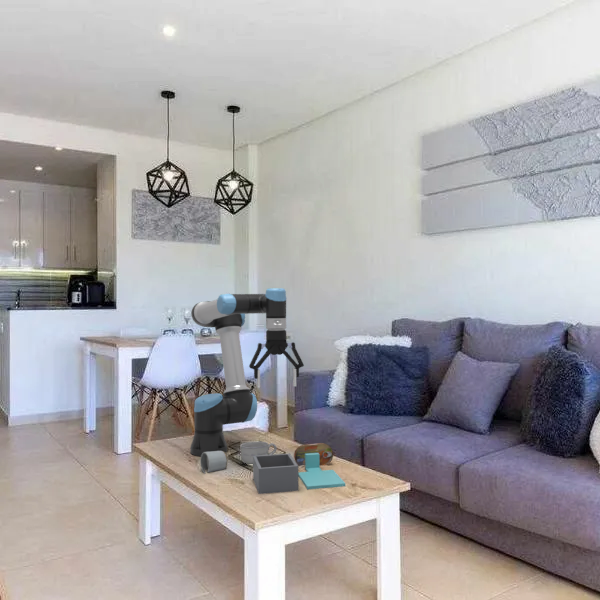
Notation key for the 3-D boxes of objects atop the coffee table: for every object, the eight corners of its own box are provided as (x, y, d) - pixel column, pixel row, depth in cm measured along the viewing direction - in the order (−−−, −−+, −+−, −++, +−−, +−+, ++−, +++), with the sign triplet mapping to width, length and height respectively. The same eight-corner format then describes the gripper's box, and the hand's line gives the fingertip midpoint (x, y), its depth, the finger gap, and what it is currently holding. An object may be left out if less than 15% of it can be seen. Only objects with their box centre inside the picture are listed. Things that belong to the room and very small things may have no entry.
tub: (253, 481, 190) (253, 455, 190) (290, 478, 193) (289, 453, 193) (258, 496, 176) (258, 468, 176) (298, 493, 178) (298, 466, 178)
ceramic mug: (229, 471, 202) (228, 450, 202) (209, 476, 197) (208, 454, 197) (215, 465, 210) (215, 445, 211) (196, 469, 206) (195, 448, 206)
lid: (294, 473, 200) (294, 454, 200) (328, 470, 203) (328, 451, 203) (307, 493, 180) (307, 471, 180) (345, 489, 182) (345, 468, 182)
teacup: (239, 468, 205) (239, 447, 205) (241, 460, 216) (241, 440, 216) (276, 468, 206) (276, 446, 206) (276, 459, 217) (276, 439, 217)
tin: (295, 469, 205) (295, 446, 205) (293, 466, 208) (293, 444, 208) (333, 465, 209) (333, 443, 209) (330, 463, 212) (330, 441, 212)
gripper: (243, 330, 198) (244, 389, 198) (311, 329, 203) (311, 386, 203) (241, 329, 205) (242, 386, 205) (306, 328, 211) (307, 383, 211)
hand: (276, 386), depth 204 cm, fingers open, 13 cm apart
